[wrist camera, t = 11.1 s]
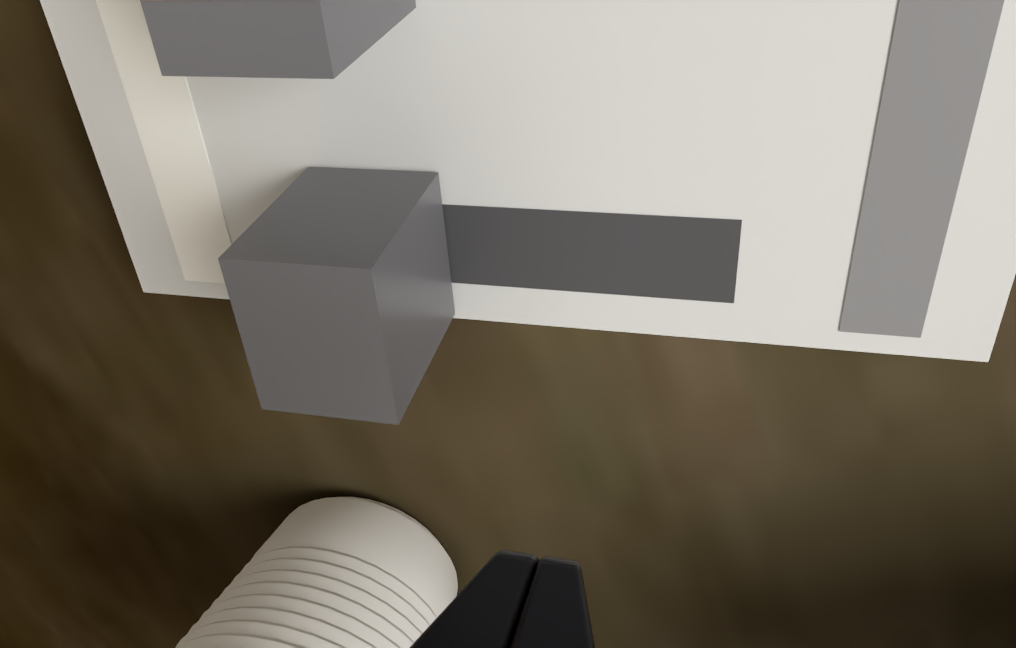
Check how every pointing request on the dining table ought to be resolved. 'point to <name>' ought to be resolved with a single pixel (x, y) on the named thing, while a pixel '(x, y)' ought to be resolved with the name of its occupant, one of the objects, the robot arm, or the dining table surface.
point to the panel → (614, 160)
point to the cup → (334, 583)
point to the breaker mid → (267, 35)
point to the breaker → (343, 292)
